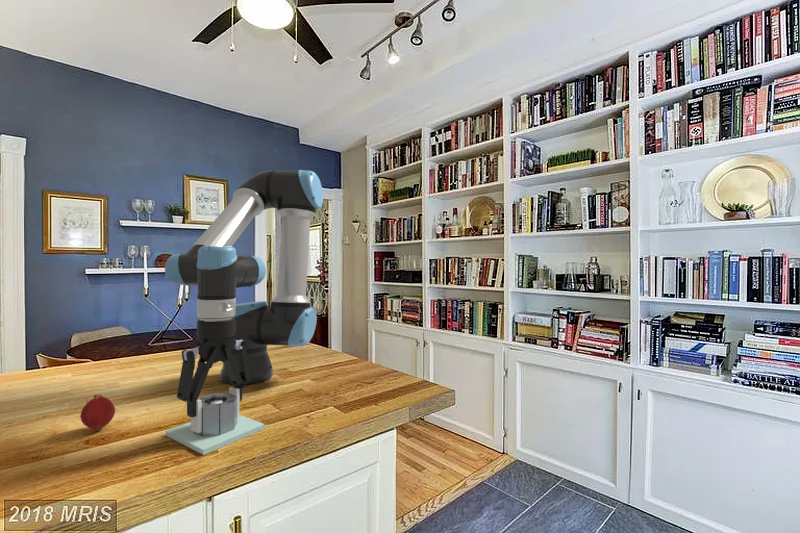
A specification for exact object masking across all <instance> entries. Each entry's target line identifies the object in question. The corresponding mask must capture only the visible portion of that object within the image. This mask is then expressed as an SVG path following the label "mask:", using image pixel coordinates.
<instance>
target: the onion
mask: <svg viewBox="0 0 800 533" xmlns="http://www.w3.org/2000/svg"><path fill="white" fill-rule="evenodd" d="M92 397H93V398H92V399H90V400H89V401H88V402H86V403H85V405H84V406H83V408H82V410H81V411H80V416H79V418H80V421H81V422H82V424H83V425H84V426H85V427H87V428H89V429H92V430H94V431H95V432H98V431H99V432H100V431H101V430H102V429H103V428H105V427H106V426H107V425H109V424H110V422H111V421H112V420H113V419H114V416H115V413H116V408H115V405H114V403H113V402H112V401H111V400H110V399H109V398H107V397H105V396H102V395H101V394H100V393H95V394H94V395H93V396H92Z"/></svg>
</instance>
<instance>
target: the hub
mask: <svg viewBox="0 0 800 533" xmlns="http://www.w3.org/2000/svg"><path fill="white" fill-rule="evenodd" d="M198 399H199V400H202V432H200V433H196V432H194V433H196V434H198V435H200V436H203V437H206V436H219V435H222V434H225V433H227V432H230V431H232V430H234V429H235V427H236V425H237V396H235V395H232V394H229V392H225V393H223V392H222V393H211V394H207V395H205V396H202V397H198ZM215 400H222V401H223V402H222V403H219V404H210V402H212V401H215Z"/></svg>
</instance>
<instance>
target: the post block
mask: <svg viewBox="0 0 800 533" xmlns="http://www.w3.org/2000/svg"><path fill="white" fill-rule="evenodd" d="M222 402H223V401H222V400H215V401H212V402H210V404H219V403H222ZM265 425H266V424H265V423H262V422H260V421H257V420H255V419H253V418H249V417H247V416H244V415H242V414H240V413H239V418H237V425H236V427H235V429H234V430H232V431H230V432H227V433H225V434H222V435H219V436H206V437H203V436H200V435H198V434H196V433H194V431H192V430H191V421H190V422H186V423H183V424H182V425H179V426H175V427H172V428H169V429H166V430H165V436H166V437H169V438H170V439H171V440H174V441H175V442H178V443H180V444H181V445H184V446H185V447H187V448H189V449H191V450H193V451H195V452H196V453H199V454H200V455H203V456H206V455H207V454H209V453H211V452H214V451H216V450H219V449H220V448H223V447H225V446H228V445H230V444H232V443H235V442H236V441H239V440H242V439H244V438H246V437H248V436H250V435H253V434H255V433H258V432H260V431H262V430H264V429H265Z"/></svg>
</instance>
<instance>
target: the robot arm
mask: <svg viewBox="0 0 800 533" xmlns="http://www.w3.org/2000/svg"><path fill="white" fill-rule="evenodd" d="M323 203H324V192H323V187H322V183H321V180H320V178H319V176H318V175H317V173H316V172H314V171H313V170H305V169H304V170H302V169H298V170H265V171H261V172H259V173H257V174H255V175H253V176H252V177H250V178H248V179H247V180H246V181H244V182H243V183H242V184H241V185H240V186H238V187H237V188H236V189H235V191H234V192H233V194H232V200H231V201H230V202H229V203H228V205H226V206H225V208H224V209H223V210H222V211H221V212H220V214H219V215H218V216H217V217H216V218H215V219H214V221H212V223H211V224H210V225H209V226H208V227H207V228H206V230H205V231H204V232H203V233H202V234H201V236H200V237H198V238H197V240H196V241H195V242H194V244H193V245H192V246H191V247H190V248H189V249H188V251H187V252H186V253H183V252H182V253H175V254H172V255H170V256H168V258H167V260H166V262H165V264H164V265H165V266H164V272H165V276H166V278H167V279H168V281H169V282H170V283H172V284H174V285H181V286H188V287H189V286H196V287H197V294H196V295H197V296H196V297H197V300H196V307H197V308H196V317H197V318H198V320H197V322H196V336H197V337H196V338H197V343H196V345H195V347H193V348H190V349H182V350H181V359H182V364H181V370H180V376H179V382H178V387H177V394H176V398H177V400H180V401H183V402H186V415H187V416H188V417H189V418H190V422H191V430H192V431H194V432H196V433H200V432H202V400H199V399H198V398H200V394H201V392H202V389H203V387H204V384H205V382H206V379H207V376H208V374H209V371H210V370H211V369H212V367H213V365H214V364H216V363H218V362H222V363H223V364H222V367H221V370H220V373H219V376H220V378H219V380H220V382H222V383H225V384H228V385H232V386H229V387H228V393H229V394H232V395H235V396H237V418H239V414H240V402H242V401H243V389H245V388H246V386H247V385H251V384H257V383H261V382H264V381H266V380H269V379H271V378H272V377H273V374H274V373H273V372H274V369H273V365H272V362H271V359H270V356H269V352H268V346H283V347H289V348H293V347H304V346H307V344H309V342H311V339H312V338H313V336H314V334H315V330H316V328H317V327H316V326H317V320H318V319H317V318H318V316H317V312H316V309H314V308H313V307H311V301H310V300H309V298H308V297H307V284H308V282H307V281H308V268H309V266H308V265H309V247H310V246H309V245H310V231H311V230H310V229H311V221H312V219H314V217H315V216H316V210H319V209H321V208H322V206H323ZM267 209H276V213H277V214H278V216H280V217H281V222H280V223H281V225H280V238H279V239H280V242H279V243H280V244H279V257H278V258H279V259H278V275H277V287H276V288H277V290H276V296H275V297H274V298H273V299H272V300H271V303H270V306H269V303H268V302H267V301H265V300H261V301H250V302H242V303H237V302H236V301H237V300H236V299H237V298H236V297H237V294H236V293H237V288H246V287H248V288H250V287H253V286H257V285H259V284H260V283H261V282H263V280H264V279H265V277H266V272H267V270H266V265H265V263H264V261H263V260H262V259H261V258H260V257H258V256H255V255H250V254H249V255H247V254H245V255H241V254H239V255H238V254H237V249H236V248H235V247H234V245H235V243H236V242H237V240H238V239H239V237H240V236H241V235H242V233H243V232H245V229H247V227H248V226H249V224H250V223H251V222H252V221H253V219H254V218H255V216H259V215H261V214H262V213H263V212H264V210H267ZM197 355H199V358H198V356H197ZM197 358H198V362H197V367H196V360H197ZM195 367H196V370H195Z"/></svg>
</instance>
